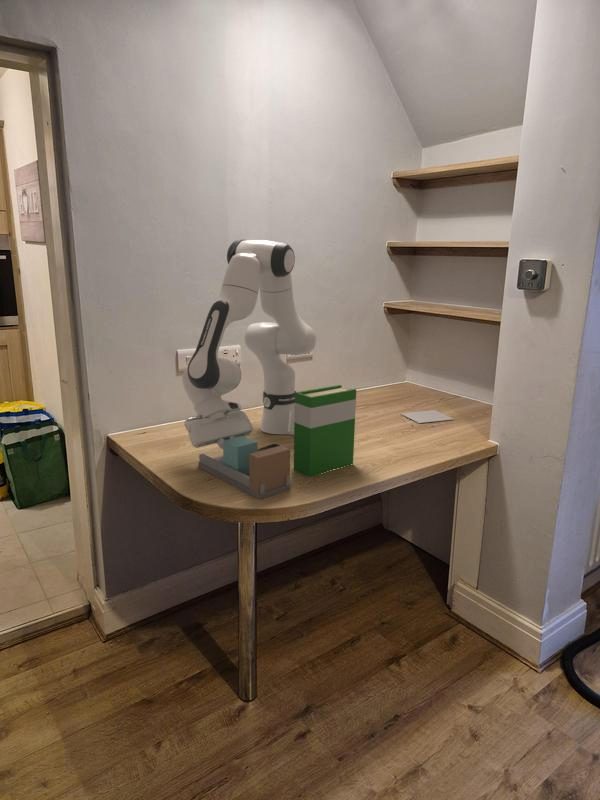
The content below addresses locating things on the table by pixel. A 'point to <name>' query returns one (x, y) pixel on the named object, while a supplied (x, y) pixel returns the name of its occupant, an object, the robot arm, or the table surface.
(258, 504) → the table surface
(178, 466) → the table surface
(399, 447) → the table surface
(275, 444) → the phone
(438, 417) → the paper stack
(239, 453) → the block
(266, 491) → the keeper track
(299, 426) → the hardback book
